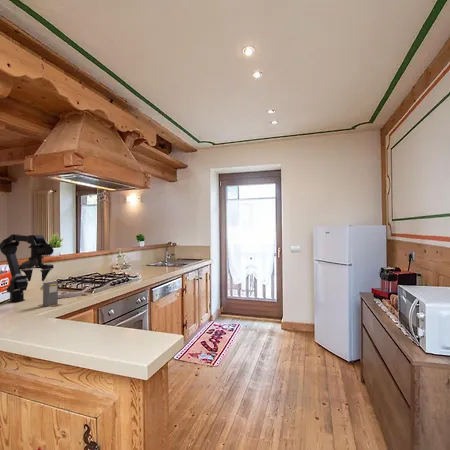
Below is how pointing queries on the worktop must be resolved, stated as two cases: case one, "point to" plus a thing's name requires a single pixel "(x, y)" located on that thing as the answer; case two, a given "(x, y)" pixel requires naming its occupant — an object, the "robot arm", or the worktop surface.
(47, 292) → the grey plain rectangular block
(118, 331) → the worktop surface
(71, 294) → the mobile phone
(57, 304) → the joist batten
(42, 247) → the robot arm
